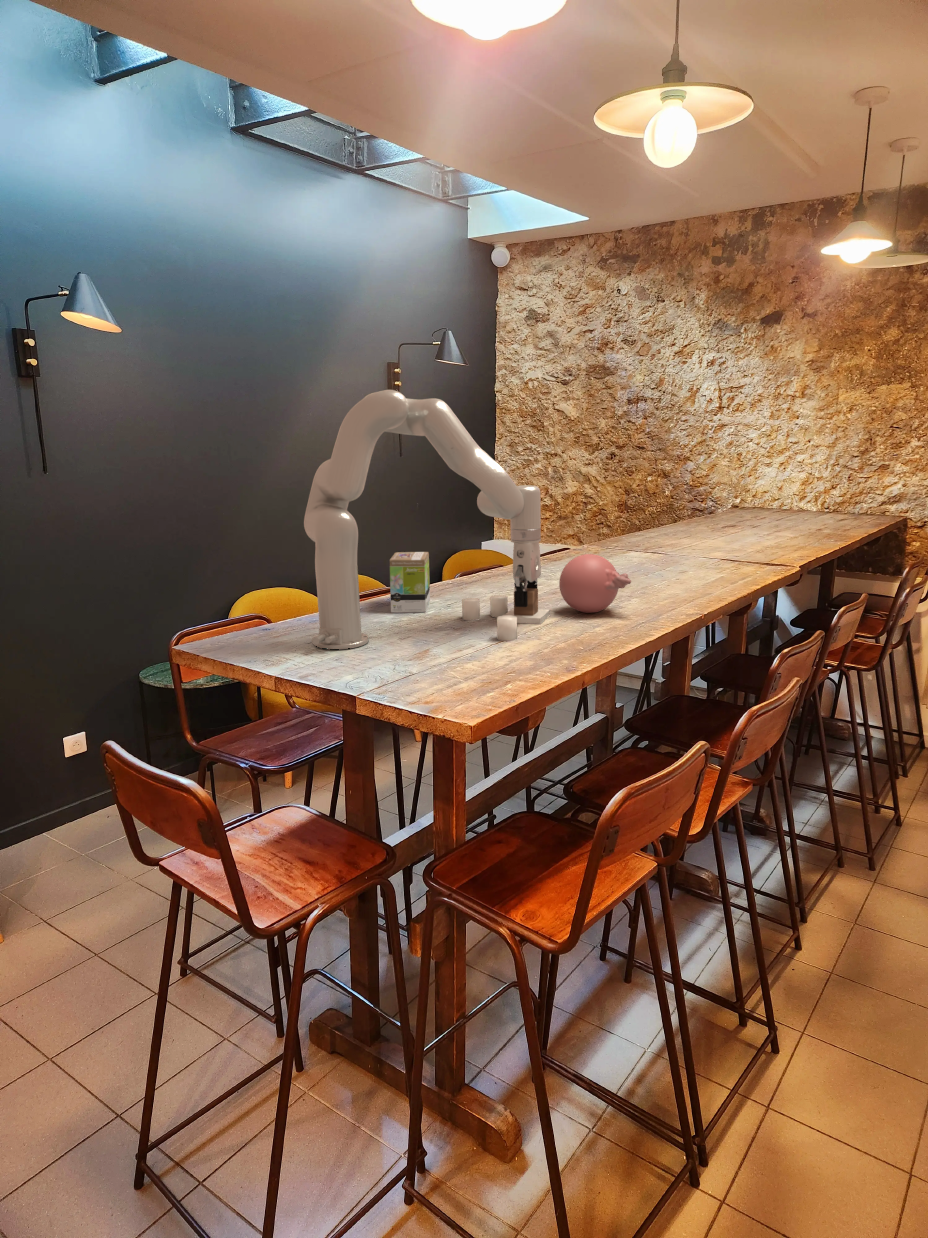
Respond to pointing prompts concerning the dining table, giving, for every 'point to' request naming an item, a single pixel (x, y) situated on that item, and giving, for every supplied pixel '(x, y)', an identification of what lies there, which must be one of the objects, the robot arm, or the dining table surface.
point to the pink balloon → (590, 583)
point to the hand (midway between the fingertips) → (526, 602)
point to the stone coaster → (534, 619)
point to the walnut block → (532, 603)
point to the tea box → (409, 582)
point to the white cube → (470, 609)
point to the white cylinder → (498, 605)
